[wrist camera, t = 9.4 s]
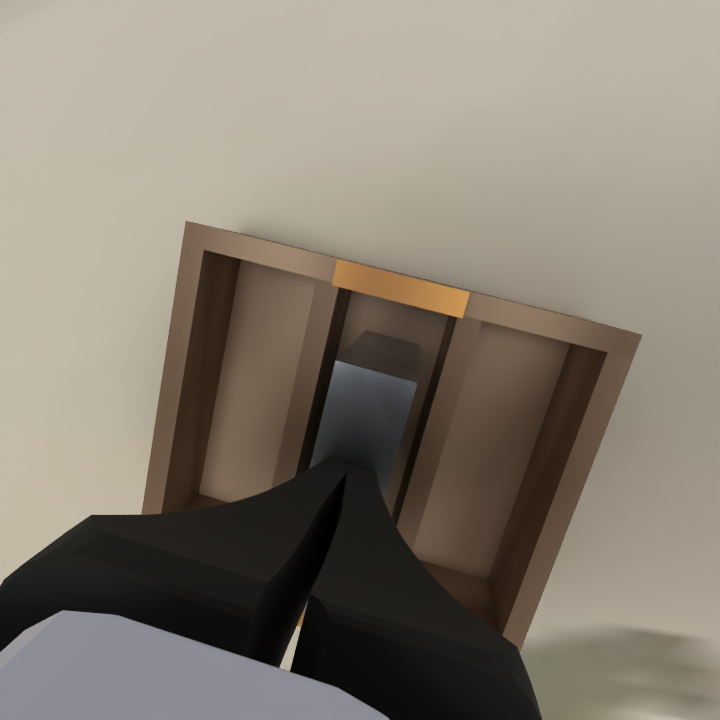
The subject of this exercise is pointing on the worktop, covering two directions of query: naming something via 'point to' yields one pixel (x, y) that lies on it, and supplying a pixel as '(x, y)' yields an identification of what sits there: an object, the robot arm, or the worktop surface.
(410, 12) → the worktop surface
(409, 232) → the worktop surface
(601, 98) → the worktop surface
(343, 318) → the rack
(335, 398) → the panel
